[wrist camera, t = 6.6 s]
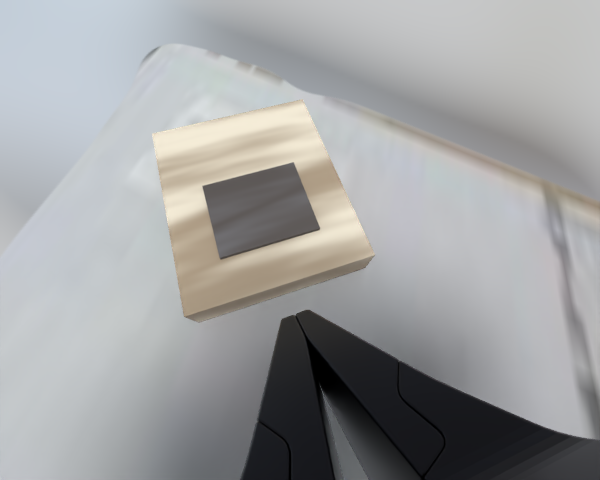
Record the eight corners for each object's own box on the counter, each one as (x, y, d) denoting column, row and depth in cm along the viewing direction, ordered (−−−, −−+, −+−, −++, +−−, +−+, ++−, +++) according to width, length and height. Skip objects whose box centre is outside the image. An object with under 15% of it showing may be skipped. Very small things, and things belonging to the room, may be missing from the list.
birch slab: (376, 253, 16) (302, 96, 21) (182, 315, 15) (150, 130, 19) (363, 270, 19) (301, 129, 24) (201, 323, 18) (169, 161, 22)
